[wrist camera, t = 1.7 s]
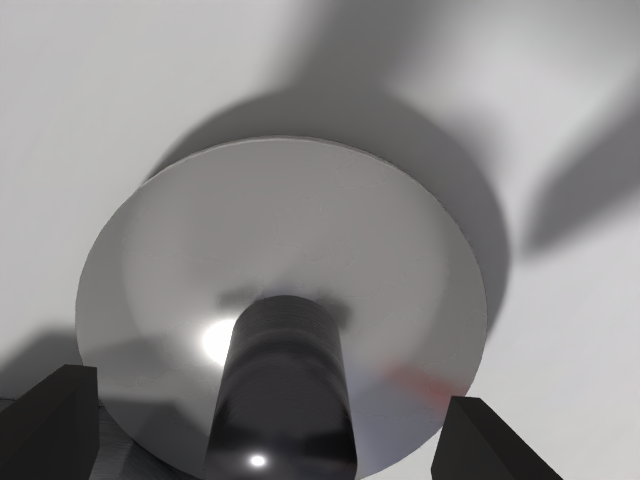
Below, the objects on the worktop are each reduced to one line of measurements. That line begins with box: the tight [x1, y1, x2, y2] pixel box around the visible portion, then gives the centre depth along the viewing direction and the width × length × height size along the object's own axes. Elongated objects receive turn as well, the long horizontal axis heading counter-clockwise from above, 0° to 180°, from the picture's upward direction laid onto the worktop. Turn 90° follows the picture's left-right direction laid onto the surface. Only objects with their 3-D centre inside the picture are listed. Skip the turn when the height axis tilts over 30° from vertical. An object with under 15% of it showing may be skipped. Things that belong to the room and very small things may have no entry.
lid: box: [75, 135, 488, 480], centre depth 12 cm, size 10×10×5 cm
